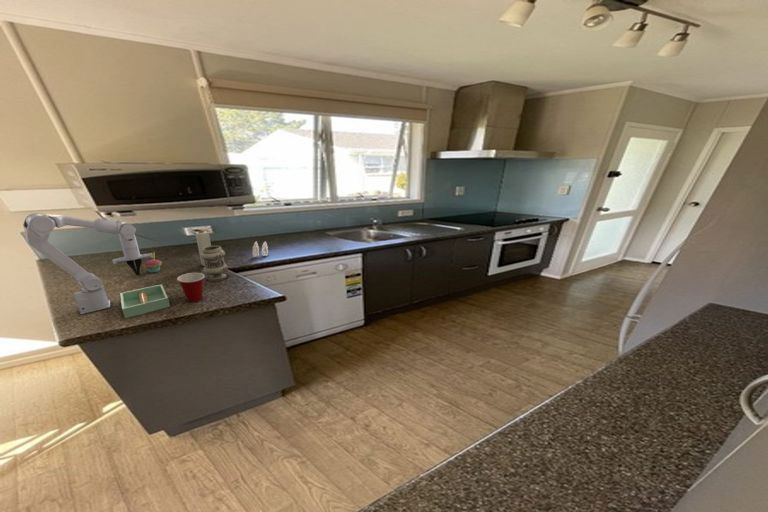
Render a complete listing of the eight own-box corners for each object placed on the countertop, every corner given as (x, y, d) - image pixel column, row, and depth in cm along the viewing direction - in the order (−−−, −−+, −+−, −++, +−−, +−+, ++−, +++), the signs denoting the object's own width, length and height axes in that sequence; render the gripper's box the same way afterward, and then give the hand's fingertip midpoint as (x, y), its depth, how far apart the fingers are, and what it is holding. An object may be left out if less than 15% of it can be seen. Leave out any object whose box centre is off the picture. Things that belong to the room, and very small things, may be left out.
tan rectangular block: (143, 310, 126) (132, 294, 124) (146, 307, 138) (136, 293, 136) (151, 306, 127) (140, 291, 125) (153, 303, 139) (144, 290, 138)
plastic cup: (201, 304, 132) (196, 280, 129) (177, 304, 131) (171, 281, 128) (213, 294, 143) (208, 271, 139) (190, 294, 142) (185, 272, 138)
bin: (124, 318, 120) (122, 309, 118) (122, 301, 133) (120, 293, 132) (170, 306, 130) (168, 297, 128) (163, 292, 143) (161, 284, 142)
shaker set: (254, 259, 192) (252, 243, 188) (250, 258, 194) (248, 242, 191) (270, 255, 201) (268, 239, 198) (266, 253, 203) (264, 238, 200)
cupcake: (162, 267, 175) (157, 248, 171) (164, 271, 169) (159, 252, 165) (144, 270, 169) (139, 251, 165) (146, 275, 163) (140, 255, 159)
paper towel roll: (200, 264, 181) (193, 231, 175) (210, 262, 186) (204, 230, 179) (204, 267, 177) (197, 233, 170) (214, 265, 181) (208, 232, 174)
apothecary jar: (206, 275, 165) (201, 245, 159) (230, 272, 170) (225, 243, 164) (203, 283, 154) (197, 251, 149) (228, 280, 159) (223, 249, 153)
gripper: (149, 243, 141) (155, 268, 145) (109, 248, 132) (117, 275, 136) (150, 246, 136) (157, 272, 140) (109, 252, 127) (117, 280, 131)
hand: (137, 274), depth 138 cm, fingers closed
